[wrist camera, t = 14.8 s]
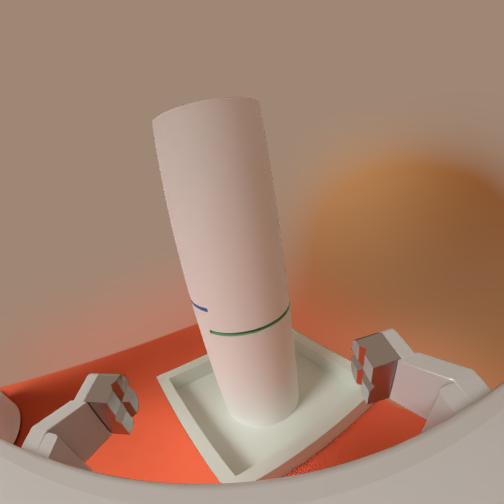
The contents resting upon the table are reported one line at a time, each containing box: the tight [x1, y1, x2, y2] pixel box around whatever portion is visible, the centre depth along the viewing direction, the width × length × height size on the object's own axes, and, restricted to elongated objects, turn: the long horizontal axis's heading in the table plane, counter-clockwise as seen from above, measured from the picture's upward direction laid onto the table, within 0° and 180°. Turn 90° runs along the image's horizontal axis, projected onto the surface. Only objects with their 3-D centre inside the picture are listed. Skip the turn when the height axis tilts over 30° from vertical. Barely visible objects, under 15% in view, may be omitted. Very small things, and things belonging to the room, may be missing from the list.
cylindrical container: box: [152, 97, 299, 427], centre depth 20 cm, size 7×7×25 cm
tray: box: [156, 329, 373, 484], centre depth 24 cm, size 16×16×2 cm
